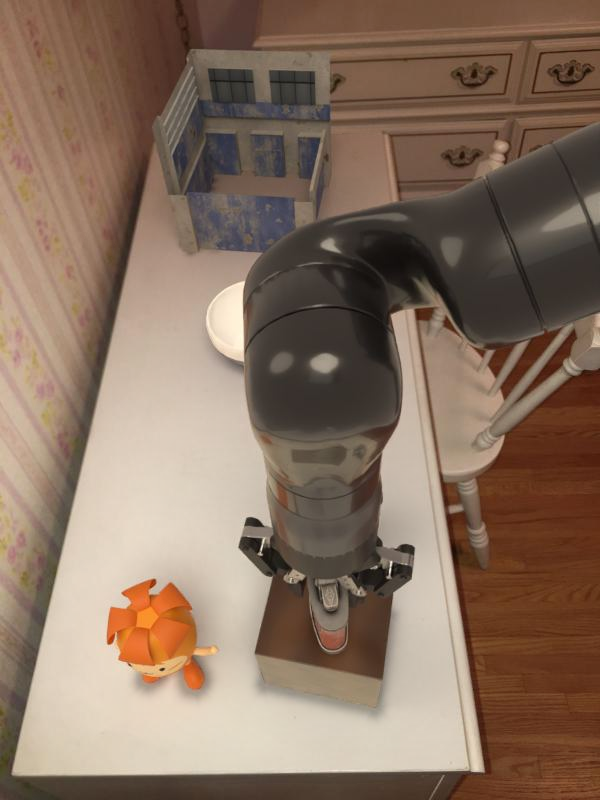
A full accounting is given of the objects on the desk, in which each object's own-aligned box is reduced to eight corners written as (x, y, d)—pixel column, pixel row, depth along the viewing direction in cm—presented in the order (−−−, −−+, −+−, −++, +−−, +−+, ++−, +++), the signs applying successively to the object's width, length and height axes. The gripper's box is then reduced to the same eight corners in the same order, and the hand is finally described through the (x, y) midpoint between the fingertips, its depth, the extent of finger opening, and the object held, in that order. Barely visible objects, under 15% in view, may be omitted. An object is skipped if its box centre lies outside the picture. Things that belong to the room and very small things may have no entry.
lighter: (353, 651, 59) (355, 616, 51) (316, 656, 59) (313, 623, 51) (338, 567, 64) (338, 523, 56) (304, 572, 64) (299, 529, 56)
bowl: (326, 336, 99) (326, 301, 93) (271, 401, 92) (266, 367, 86) (251, 301, 104) (245, 265, 98) (193, 359, 97) (184, 325, 91)
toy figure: (116, 688, 70) (70, 649, 58) (138, 615, 75) (100, 565, 63) (222, 704, 69) (198, 669, 56) (237, 629, 73) (218, 581, 61)
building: (331, 175, 123) (330, 50, 104) (314, 259, 109) (310, 133, 91) (213, 169, 126) (191, 46, 107) (182, 251, 112) (151, 126, 93)
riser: (387, 614, 73) (395, 575, 64) (375, 707, 68) (382, 680, 58) (285, 594, 75) (278, 553, 66) (265, 684, 70) (254, 653, 60)
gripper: (207, 535, 42) (239, 618, 56) (426, 574, 40) (403, 650, 54) (237, 440, 47) (260, 539, 60) (436, 470, 44) (412, 566, 58)
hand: (327, 591), depth 57 cm, fingers closed on lighter, 4 cm apart
